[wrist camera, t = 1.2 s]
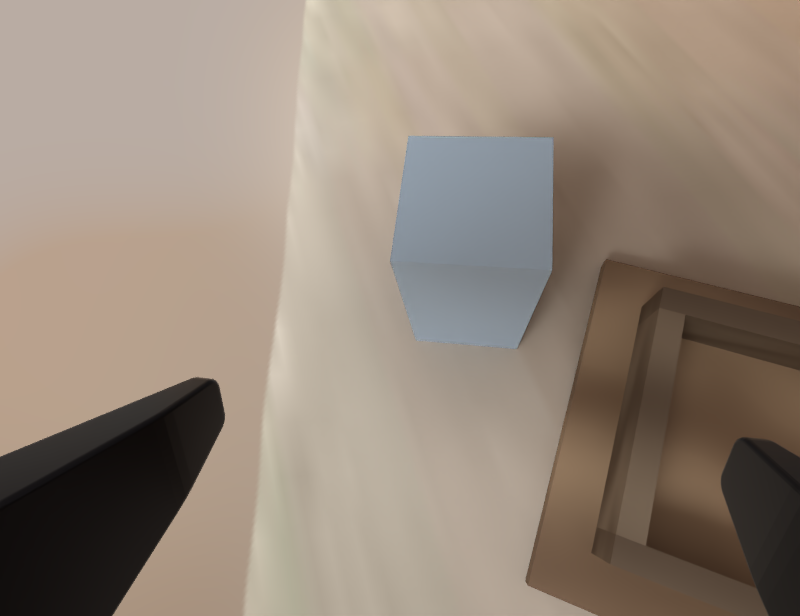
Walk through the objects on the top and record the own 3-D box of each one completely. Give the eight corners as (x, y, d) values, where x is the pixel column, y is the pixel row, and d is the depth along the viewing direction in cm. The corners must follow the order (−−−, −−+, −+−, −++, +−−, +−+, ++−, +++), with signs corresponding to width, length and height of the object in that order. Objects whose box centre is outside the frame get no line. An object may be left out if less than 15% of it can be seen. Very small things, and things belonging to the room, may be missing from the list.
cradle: (973, 772, 15) (1103, 847, 12) (525, 581, 18) (537, 601, 15) (961, 356, 19) (1053, 334, 16) (601, 266, 23) (623, 234, 20)
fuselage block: (516, 348, 22) (552, 270, 13) (416, 340, 22) (390, 261, 14) (520, 257, 23) (553, 137, 15) (426, 252, 24) (408, 136, 16)
